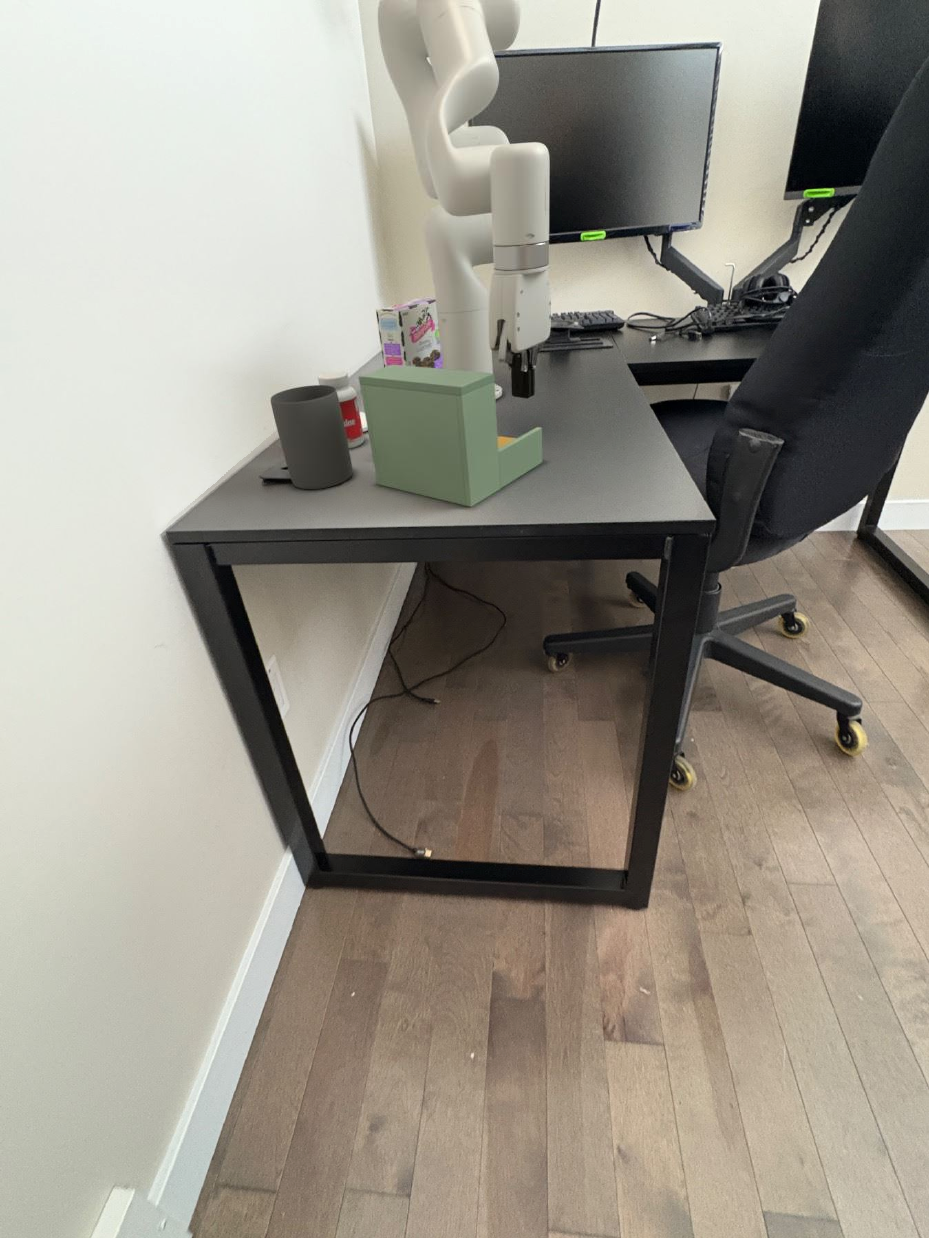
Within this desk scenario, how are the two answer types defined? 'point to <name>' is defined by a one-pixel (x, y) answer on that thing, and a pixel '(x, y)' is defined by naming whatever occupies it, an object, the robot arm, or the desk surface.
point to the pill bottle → (346, 405)
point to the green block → (441, 433)
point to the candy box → (410, 334)
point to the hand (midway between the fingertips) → (523, 395)
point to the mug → (312, 436)
